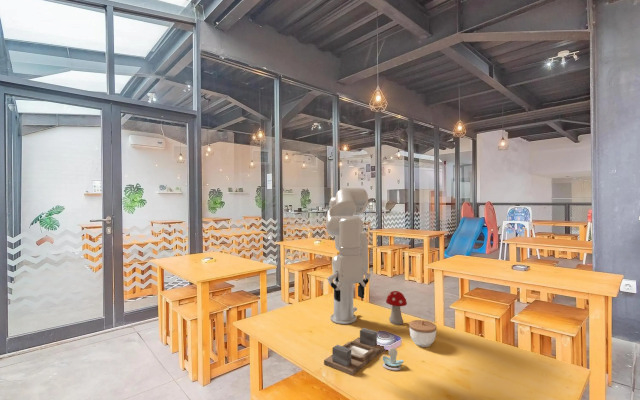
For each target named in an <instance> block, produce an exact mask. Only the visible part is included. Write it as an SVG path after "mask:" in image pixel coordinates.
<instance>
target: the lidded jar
mask: <svg viewBox="0 0 640 400" xmlns="http://www.w3.org/2000/svg"><path fill="white" fill-rule="evenodd" d="M408 327H409V335H410V339H411V340H412V341H413V342H414V344H415V345H416V346H417V347H422V348H428V347H430V346H431V345H432V344H433V343H434V342H435V340H436V338H437V327H438V326H437V325H436V324H435V323H434V322H432V321H429V320H423V319H416V320H411V321H409V324H408Z"/></svg>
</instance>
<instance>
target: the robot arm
mask: <svg viewBox="0 0 640 400" xmlns="http://www.w3.org/2000/svg"><path fill="white" fill-rule="evenodd" d="M368 203H369V194H368V192H367V190H366V189H365V188H360V187H357V188H356V187H347V188H346V187H345V188H340V189H339V190H338V191H337V192H336V194H335V196H333V197H331V198H330V199H329V209H328V210H327V212H326V217H325V230H326V232H327V234H328V235H330V236H334V244H335V245H334V246H335V250H337V251H338V254H337V255H334V256H333V258H332V261H331V266H332V271H333V273H332V274H331V275H329V276H328V277H327V282H328V284H329V286H330V287H331V288H332V289H333V314H331V316H330V321H332V322H333V323H335V324H339V325H347V324H348V325H349V324H353V323H355V322H356V321H357V316H356V314H355V312H357V311H358V308H357V307H356V306H354V284H358V285H357V296H358V297H359V298H360V299H364V298H365V288H366V287H367V284H368V283H369V280H370V278H371V274H370V273H369V244H368V243H369V241H368V237H367V235H366V233H364V232H363V231H364V221H363V220H362V218H361V217H360V216H357V215H355V214H364V213H365V211H366V209H367V206H368Z"/></svg>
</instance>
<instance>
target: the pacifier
mask: <svg viewBox="0 0 640 400" xmlns="http://www.w3.org/2000/svg"><path fill="white" fill-rule="evenodd" d="M388 355H389V357H388V356H382V361H383V364H382V366H383V368H385V369H387V370H390V371H400V370H401V369H402V366H401V365H402V364H403V363H404V360H403V359H399V360H397V356H398V350H397V349H396V348H395V347H391V348H389V350H388Z"/></svg>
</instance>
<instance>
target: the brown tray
mask: <svg viewBox="0 0 640 400" xmlns="http://www.w3.org/2000/svg"><path fill="white" fill-rule="evenodd" d="M377 337H378V331H376V330H371V329H368V328H365V327H362V328H361V329H360V330H359V337H356V338H355V339H353V340H351V341H347V343H346V342H345V344H343V345H339V344H336V345H334V346H333V347H332V352H331V353H332V354H331V355H329V356H328V357H327V358H325V359H324V360H323V364H324V366H327V367H330V368H332V369H335V370H337V371H340V372H343V373H345V374H348V375H350V376H354V375H355V374H356V373H358V372H359V371H360V370H361V369H362V368H363V367H365V366H366V365H367V364H368V363H370V362H371V361H373V360H374V359H375V358H376V357H377V356H379V354H381V353H382V352H384V350H385V349H384V346H380V345H377V343H378V338H377Z"/></svg>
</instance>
